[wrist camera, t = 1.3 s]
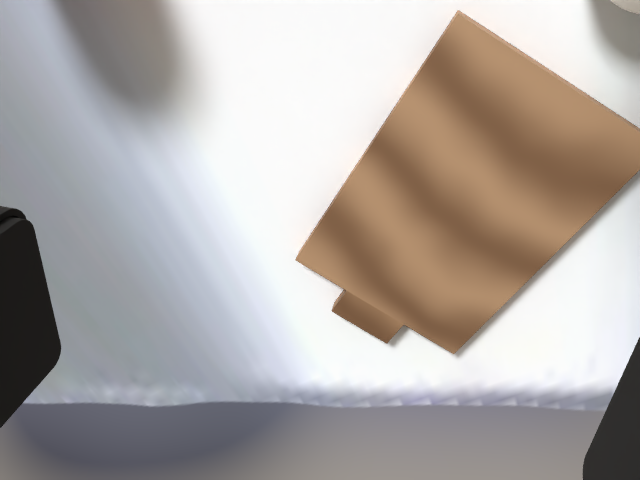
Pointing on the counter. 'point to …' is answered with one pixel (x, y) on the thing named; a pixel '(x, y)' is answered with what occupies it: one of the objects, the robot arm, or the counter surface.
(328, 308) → the counter surface
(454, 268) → the board
